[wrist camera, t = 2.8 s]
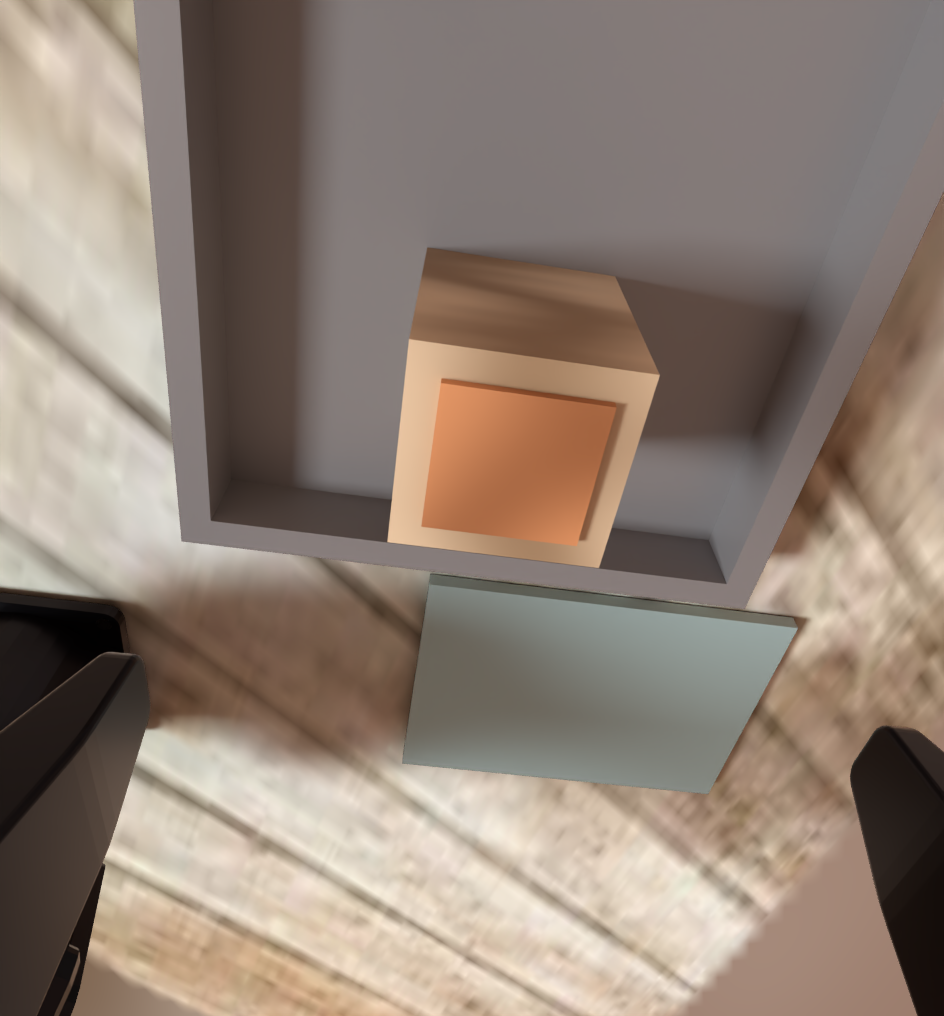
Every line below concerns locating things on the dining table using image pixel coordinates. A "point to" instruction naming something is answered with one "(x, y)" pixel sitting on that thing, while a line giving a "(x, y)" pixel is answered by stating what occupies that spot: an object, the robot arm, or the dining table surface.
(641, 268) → the parts bin
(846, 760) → the dining table surface
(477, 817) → the dining table surface
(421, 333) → the labelled block
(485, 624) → the mat
